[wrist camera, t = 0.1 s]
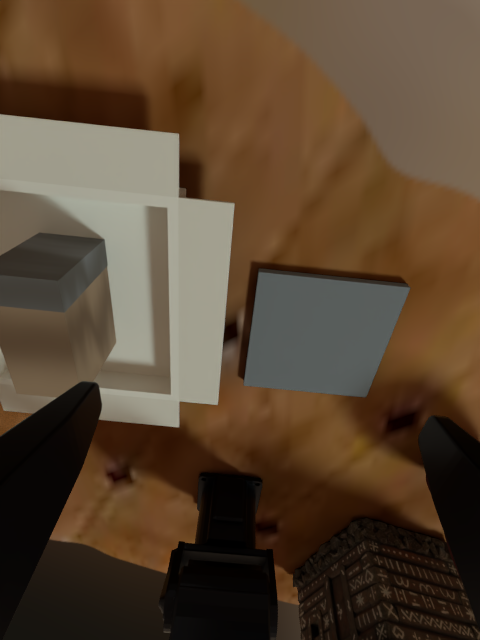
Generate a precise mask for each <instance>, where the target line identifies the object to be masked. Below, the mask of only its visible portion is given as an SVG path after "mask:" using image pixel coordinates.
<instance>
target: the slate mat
mask: <svg viewBox="0 0 480 640" xmlns="http://www.w3.org/2000/svg"><path fill="white" fill-rule="evenodd" d="M409 290H410V287H409V286H408V284H405V283H395V282H385V281H376V280H366V279H357V278H347V277H337V276H328V275H318V274H309V273H299V272H289V271H280V270H270V269H260V268H259V271H258V278H257V286H256V293H255V301H254V308H253V316H252V323H251V331H250V338H249V346H248V353H247V361H246V368H245V376H244V385H245V386H255V387H265V388H275V389H285V390H295V391H306V392H316V393H326V394H336V395H346V396H356V397H366V396H367V394H368V392H369V389H370V387H371V384H372V382H373V379H374V377H375V374H376V372H377V369H378V367H379V364H380V362H381V359H382V357H383V354H384V352H385V349H386V347H387V344H388V342H389V339H390V337H391V334H392V332H393V330H394V327H395V325H396V322H397V320H398V317H399V315H400V312H401V310H402V307H403V305H404V302H405V300H406V297H407V295H408V292H409Z"/></svg>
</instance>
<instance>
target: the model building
mask: <svg viewBox="0 0 480 640" xmlns="http://www.w3.org/2000/svg"><path fill="white" fill-rule="evenodd" d="M293 587H297V589H298V601H299V603H300V605H299V618H300V626H301V640H480V631H479V628H478V625H477V622H476V620H475V617H474V614H473V611H472V608H471V606H470V603H469V600H468V597H467V594H466V592H465V589H464V586H463V583H462V581H461V579H460V576H459V574H458V572H457V570H456V567H455V565H454V563H453V560H452V557H451V555H450V552H449V548H448V545H447V542H444V541H441V540H438V539H435V538H430V537H429V536H426V535H421V534H418V533H417V532H416V533H413V532H410V531H407V530H404V529H401V528H396V527H393V526H392V525H386V524H385V523H382V522H379V521H377V522H376V521H373V520H371V519H368V518H364V519H360V520H356V521H353V522H350V526H349V527H348V528H347V529H346V530H344V531H343V530H342V532H341V533H340V535H338V536H337V537H334V536H333V537H332V538H331V539H330V542H329V543H325V544H323V545H321V546H320V548H319V551H318V553H317V554H315V555H314V556H312V557H311V558H309V560H307V561H306V563H305V565H304V566H303V567H302V568H301V569H295V574H294V573H293Z"/></svg>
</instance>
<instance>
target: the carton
mask: <svg viewBox="0 0 480 640" xmlns="http://www.w3.org/2000/svg"><path fill="white" fill-rule="evenodd" d="M234 204H235V203H233V202H223V201H214V200H205V199H195V198H186V188H179V134H177V133H168V132H159V131H150V130H141V129H132V128H122V127H113V126H104V125H95V124H86V123H77V122H68V121H59V120H50V119H41V118H31V117H22V116H13V115H4V114H0V256H1V255H2V254H4V253H6V252H7V251H9V250H11V249H12V248H14V247H16V246H17V245H19V244H21V243H22V242H24V241H26V240H28V239H29V238H31V237H33V236H34V235H36V234H38V233H39V232H40V233H50V234H59V235H69V236H78V237H88V238H97V239H105V247H106V255H107V263H108V266H107V269H108V277H109V286H110V294H111V302H112V310H113V318H114V326H115V335H116V344H115V346H114V347H113V349H112V351H111V353H110V354H109V356H108V358H107V359H106V361H105V363H104V364H103V366H102V368H101V370H100V371H99V373H98V375H97V376H96V378H95V380H94V381H93V382H96V383H98V385H99V389H100V395H101V401H102V410H101V414H100V417H99V420H107V421H118V422H128V423H138V424H149V425H159V426H170V427H179V401H182V402H193V403H203V404H213V405H218V395H219V383H220V372H221V360H222V348H223V336H224V324H225V312H226V300H227V288H228V276H229V264H230V252H231V240H232V228H233V216H234ZM54 399H56V398H55V397H45V396H34V395H24V394H17V393H16V391H15V388H14V385H13V382H12V379H11V376H10V373H9V371H8V368H7V365H6V362H5V359H4V356H3V353H2V351H1V348H0V402H1V404H2V407H3V409H4V411H13V412H24V413H35V412H36V411H38V410H39V409H41V408H42V407H44V406H45V405H47V404H48V403H50V402H51V401H53V400H54Z"/></svg>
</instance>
